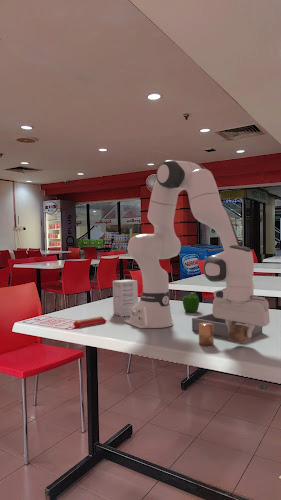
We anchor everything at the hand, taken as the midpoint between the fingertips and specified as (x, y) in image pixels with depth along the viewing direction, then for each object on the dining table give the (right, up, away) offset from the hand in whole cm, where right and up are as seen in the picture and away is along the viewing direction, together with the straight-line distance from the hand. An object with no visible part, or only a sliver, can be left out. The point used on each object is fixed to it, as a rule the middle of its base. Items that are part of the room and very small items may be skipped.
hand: (239, 334), depth 125 cm
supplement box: (-41, -4, +58) cm, 71 cm away
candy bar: (-55, -5, +37) cm, 67 cm away
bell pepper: (-8, -3, +62) cm, 62 cm away
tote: (0, -3, +20) cm, 20 cm away
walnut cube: (0, -2, 0) cm, 2 cm away
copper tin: (-11, -4, +3) cm, 12 cm away
